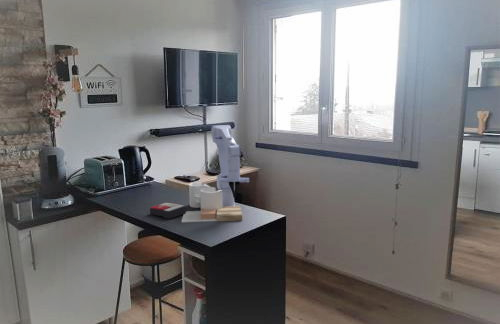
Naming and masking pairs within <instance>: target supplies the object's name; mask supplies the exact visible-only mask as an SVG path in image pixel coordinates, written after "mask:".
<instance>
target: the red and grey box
mask: <svg viewBox="0 0 500 324" xmlns="http://www.w3.org/2000/svg"><path fill="white" fill-rule="evenodd" d="M186 211H187V209H186V205H182V204H179V203H178V204H177V203H171V202H164V203H160V204H159V205H158V204H157V205H153V206H150V208H149V214H150V215H152V216H153V215H154V216H159V217H163V218H164V219H168V220H169V219H173V218H175V217H178V216H181V215H184V214H185V213H186Z"/></svg>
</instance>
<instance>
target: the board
mask: <svg viewBox="0 0 500 324" xmlns="http://www.w3.org/2000/svg"><path fill="white" fill-rule="evenodd" d="M241 208H242V207H241V205H235V206H222V208H220V209H217V221H216V222H233V221H234V222H235V221H236V222H237V221H238V222H239V221H243V212H242V209H241Z"/></svg>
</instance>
